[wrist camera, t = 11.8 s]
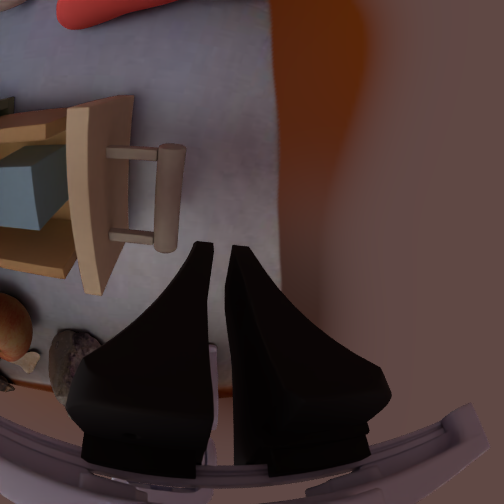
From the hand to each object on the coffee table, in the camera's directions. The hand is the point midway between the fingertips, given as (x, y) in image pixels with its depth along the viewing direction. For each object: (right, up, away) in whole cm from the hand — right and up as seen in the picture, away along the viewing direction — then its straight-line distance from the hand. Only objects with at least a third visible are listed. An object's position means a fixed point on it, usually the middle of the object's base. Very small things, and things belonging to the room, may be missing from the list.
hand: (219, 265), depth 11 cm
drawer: (-11, +6, +6) cm, 14 cm away
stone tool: (-37, -19, +20) cm, 46 cm away
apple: (-27, -6, +14) cm, 31 cm away
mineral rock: (-19, -13, +20) cm, 31 cm away
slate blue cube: (-13, +6, +4) cm, 15 cm away
